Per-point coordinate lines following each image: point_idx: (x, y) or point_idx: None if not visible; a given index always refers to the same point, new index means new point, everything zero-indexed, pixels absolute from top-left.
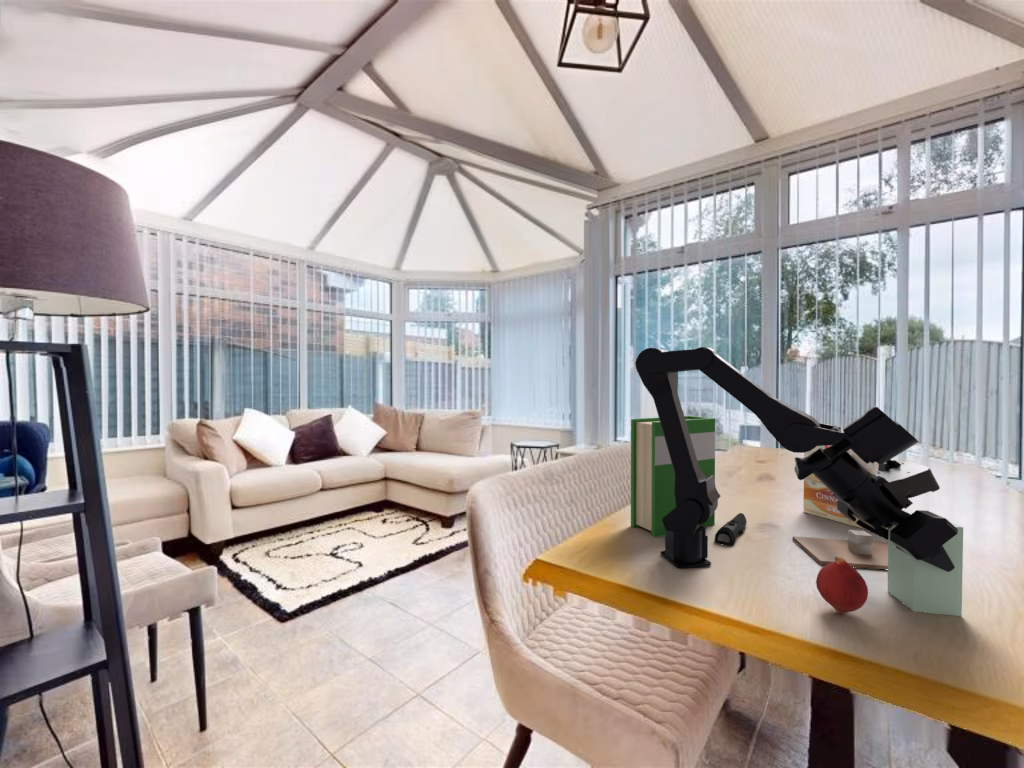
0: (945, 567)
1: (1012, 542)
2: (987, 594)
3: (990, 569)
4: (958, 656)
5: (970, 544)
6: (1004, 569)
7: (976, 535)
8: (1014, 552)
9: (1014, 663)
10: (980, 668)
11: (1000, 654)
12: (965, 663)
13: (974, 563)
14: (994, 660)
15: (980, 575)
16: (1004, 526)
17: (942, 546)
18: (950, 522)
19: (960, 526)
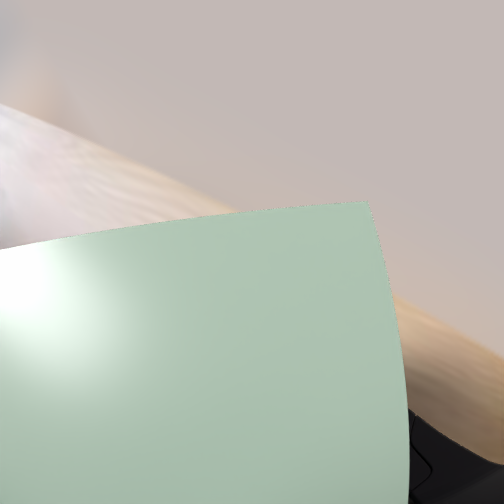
0: None
1: (27, 117)
2: (160, 216)
3: (71, 163)
4: (476, 423)
5: (15, 155)
6: (74, 147)
7: (5, 141)
8: (43, 122)
9: (471, 340)
10: (498, 401)
11: (452, 349)
12: (491, 418)
13: (52, 174)
14: (473, 369)
15: (86, 186)
16: (6, 114)
17: (439, 433)
18: (189, 231)
19: (342, 210)
